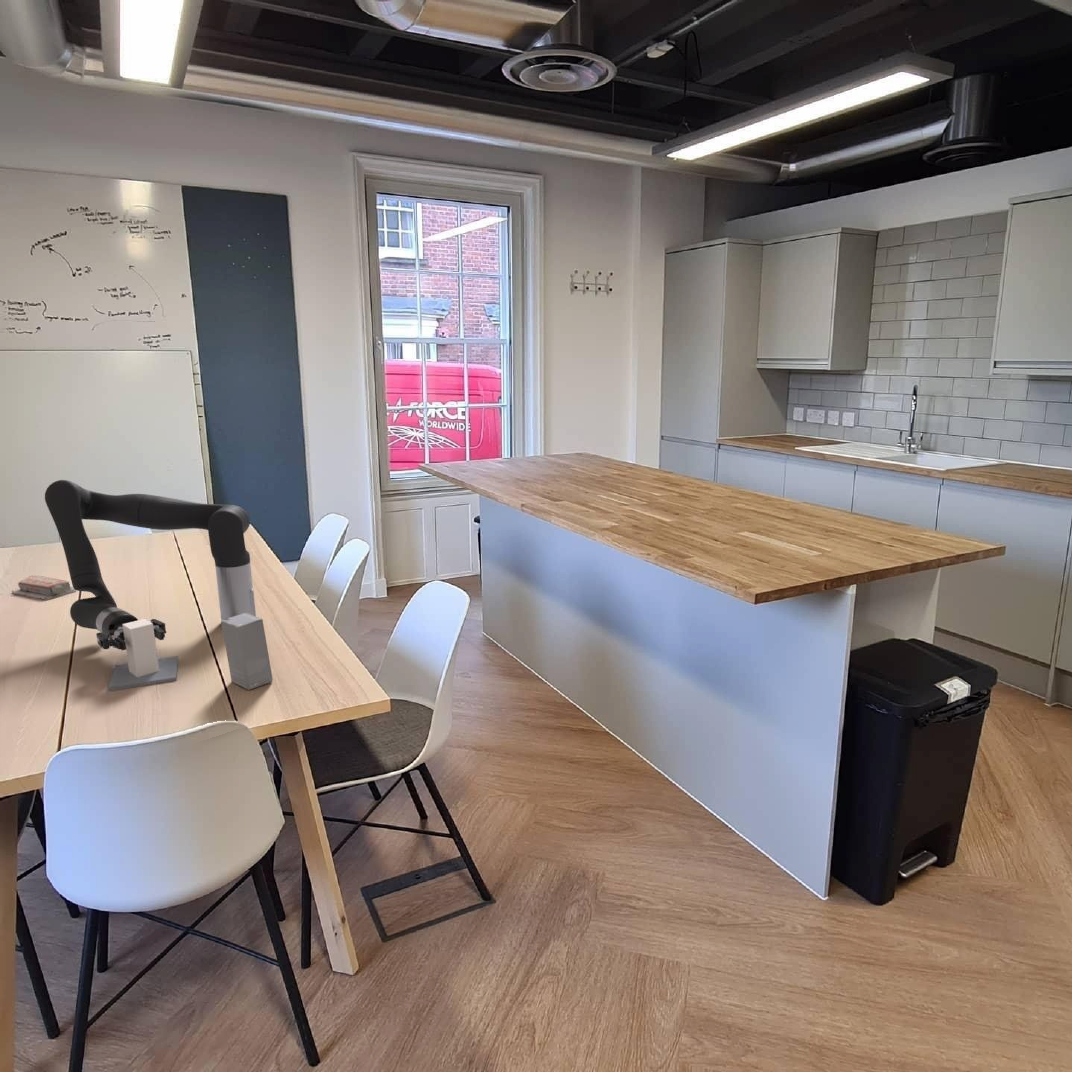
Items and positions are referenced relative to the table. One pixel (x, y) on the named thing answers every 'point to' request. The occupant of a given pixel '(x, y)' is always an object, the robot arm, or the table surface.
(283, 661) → the table surface
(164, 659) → the grey mat
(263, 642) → the skincare box
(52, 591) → the packaged product
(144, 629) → the cream block
